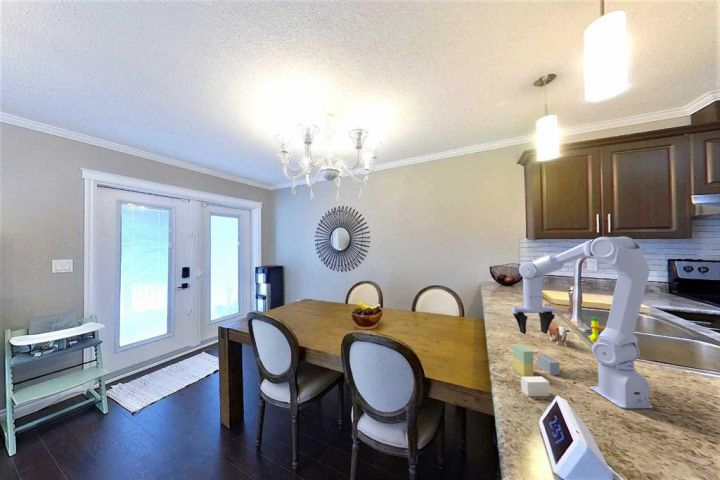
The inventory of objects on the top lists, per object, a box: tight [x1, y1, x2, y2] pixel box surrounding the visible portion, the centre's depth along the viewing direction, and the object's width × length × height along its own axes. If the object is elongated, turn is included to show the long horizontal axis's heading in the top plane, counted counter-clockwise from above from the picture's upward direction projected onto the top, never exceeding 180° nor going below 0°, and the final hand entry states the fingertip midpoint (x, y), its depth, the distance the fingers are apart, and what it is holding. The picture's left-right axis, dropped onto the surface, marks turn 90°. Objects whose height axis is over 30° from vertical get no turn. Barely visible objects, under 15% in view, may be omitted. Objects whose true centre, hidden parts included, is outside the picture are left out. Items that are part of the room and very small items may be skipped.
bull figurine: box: [547, 322, 570, 348], centre depth 108 cm, size 4×13×8 cm, turn 163°
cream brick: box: [520, 375, 550, 397], centre depth 73 cm, size 6×3×4 cm, turn 89°
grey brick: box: [536, 354, 560, 376], centre depth 86 cm, size 6×3×4 cm, turn 179°
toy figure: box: [587, 316, 606, 345], centre depth 103 cm, size 7×4×12 cm, turn 43°
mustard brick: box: [512, 355, 535, 377], centre depth 85 cm, size 6×3×4 cm, turn 179°
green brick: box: [512, 343, 534, 365], centre depth 85 cm, size 6×3×4 cm, turn 179°
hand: (533, 332), depth 93 cm, fingers open, 7 cm apart
